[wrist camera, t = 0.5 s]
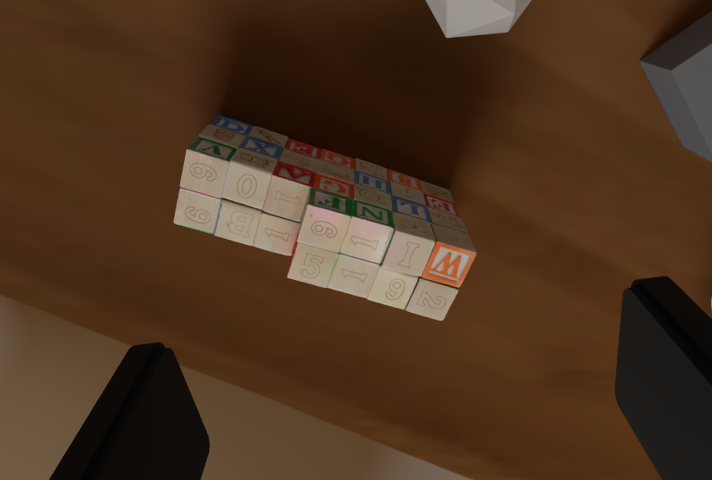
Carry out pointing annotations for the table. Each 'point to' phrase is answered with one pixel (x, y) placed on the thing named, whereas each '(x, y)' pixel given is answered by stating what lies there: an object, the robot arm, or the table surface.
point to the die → (476, 16)
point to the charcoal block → (686, 84)
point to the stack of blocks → (327, 216)
